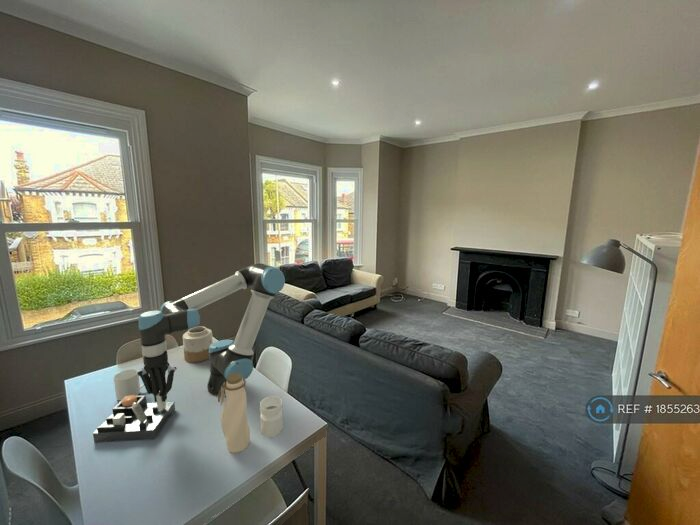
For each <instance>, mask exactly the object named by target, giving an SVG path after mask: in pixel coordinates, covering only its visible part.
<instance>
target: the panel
mask: <svg viewBox="0 0 700 525" xmlns="http://www.w3.org/2000/svg"><path fill="white" fill-rule="evenodd" d="M125 397H127V396H125ZM125 397H124V398H125ZM124 398H123V399H124ZM123 399H122V400H123ZM122 400H121V401H120V400H119V401H118V403H117V404H116V405H115V406H114V407H113V408H112V414H110V416H108V417H106V419H105V421H104V422H103V423H101V425H99V426H97V427H96V430H94V431H93V433H92V435H93V442H94V444H95V443H110V442H111V443H112V442H113V443H116V442H126V441H145V440H147V441H148V440H155V439H156V438H157V436H158V435H159V434H160V432H161V431H162V429H163V428H164V426H165V425H166V424H167V423H168V421H169V420H170V418H171V417H172V415H173V414H174V412H175V411H176V405H175V401H170V402H169V401H168V402H166V401H165V403H166V406H165V408H164V409H163V410H162V411H158V407H157V402H147V395H146V394H144V395H143V394H142V395H137V403H139V404H140V406H141V407H142V409H143V411H144V412H145V414H146V416H147V417H148V418H147V419H146V420H145V422H144V423H140V421H139V420H138V418H137V417H136V415H135V413H134V412H133V410H132V406H131V407H123V406H122ZM118 413H124V414H125V423H124V425H113V418H114V417H115V416H116V415H117V414H118Z"/></svg>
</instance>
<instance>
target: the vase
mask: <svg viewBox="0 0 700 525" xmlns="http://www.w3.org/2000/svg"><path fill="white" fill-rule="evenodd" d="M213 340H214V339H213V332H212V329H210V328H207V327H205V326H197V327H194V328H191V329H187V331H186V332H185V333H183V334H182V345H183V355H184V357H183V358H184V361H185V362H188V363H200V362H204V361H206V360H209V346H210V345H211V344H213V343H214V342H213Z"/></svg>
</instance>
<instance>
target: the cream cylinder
mask: <svg viewBox="0 0 700 525" xmlns="http://www.w3.org/2000/svg"><path fill="white" fill-rule="evenodd" d="M259 404H260V405H259V412H260V414H259V415H260V416H259V417H260V422H259V423H260V425H259V426H260V434H261V435H262V436H263V437H266V438H273V436H274V437H276V436H279V434H281V432H282V431H283V426H284V424H283V423H284V422H283V421H284V416H283V400H282V398H281V397H280V396H278V395H269V396H267V397H264V398H263V399H261V401H260V402H259Z"/></svg>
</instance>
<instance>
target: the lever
mask: <svg viewBox="0 0 700 525" xmlns="http://www.w3.org/2000/svg"><path fill="white" fill-rule="evenodd" d="M132 410H133V412H134V413H135V415H136V417H137V418H138V420H139V421H140V423H144V422H145V420H146V419H147V418H148V417H147V416H146V414H145V412H144V411H143V409H142V407H141V406H140V404H139V403H133V404H132Z"/></svg>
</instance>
